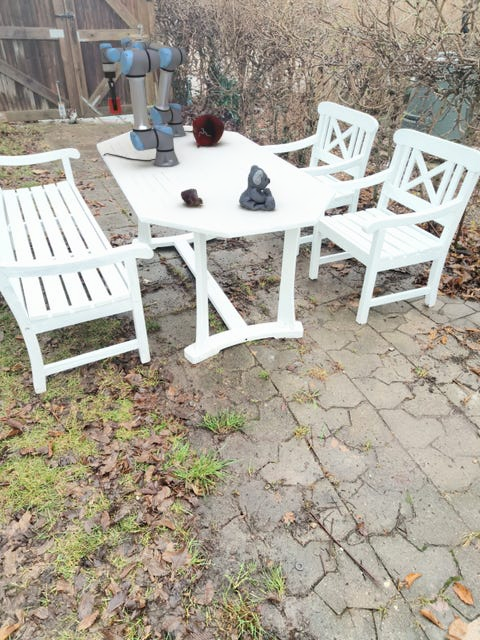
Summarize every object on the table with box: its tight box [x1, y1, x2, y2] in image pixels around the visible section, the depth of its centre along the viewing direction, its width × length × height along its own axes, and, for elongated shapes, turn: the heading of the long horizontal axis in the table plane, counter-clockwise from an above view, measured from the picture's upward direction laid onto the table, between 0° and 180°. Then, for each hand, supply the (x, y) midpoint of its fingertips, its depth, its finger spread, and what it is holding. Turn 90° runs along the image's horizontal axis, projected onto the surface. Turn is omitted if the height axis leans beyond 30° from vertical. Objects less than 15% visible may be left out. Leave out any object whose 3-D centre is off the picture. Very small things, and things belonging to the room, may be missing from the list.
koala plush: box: [238, 164, 276, 211], centre depth 224 cm, size 17×18×20 cm
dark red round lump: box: [190, 113, 225, 149], centre depth 332 cm, size 21×24×25 cm
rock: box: [180, 188, 204, 207], centre depth 229 cm, size 12×9×10 cm
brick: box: [107, 97, 123, 115], centre depth 306 cm, size 5×8×9 cm, turn 109°
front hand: (115, 109), depth 308 cm, fingers closed on brick, 5 cm apart
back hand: (132, 92), depth 357 cm, fingers open, 13 cm apart
